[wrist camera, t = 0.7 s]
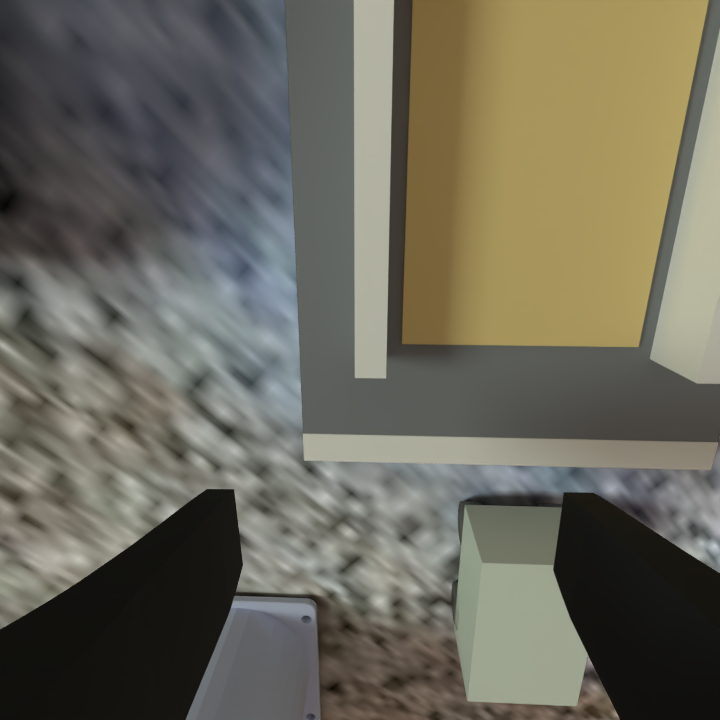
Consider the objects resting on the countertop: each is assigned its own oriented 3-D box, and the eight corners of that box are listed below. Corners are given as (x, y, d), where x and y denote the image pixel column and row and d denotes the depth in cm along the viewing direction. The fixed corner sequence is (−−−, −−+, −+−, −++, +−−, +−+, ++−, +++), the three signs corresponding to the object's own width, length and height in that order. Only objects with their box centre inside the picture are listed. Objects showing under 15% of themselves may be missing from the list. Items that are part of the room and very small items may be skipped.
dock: (677, 444, 19) (762, 509, 15) (311, 436, 20) (292, 497, 16) (806, -75, 14) (1000, -208, 9) (293, -62, 14) (256, -182, 10)
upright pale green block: (538, 610, 22) (576, 706, 18) (450, 607, 22) (467, 701, 18) (557, 491, 20) (606, 566, 16) (460, 488, 20) (482, 563, 16)
